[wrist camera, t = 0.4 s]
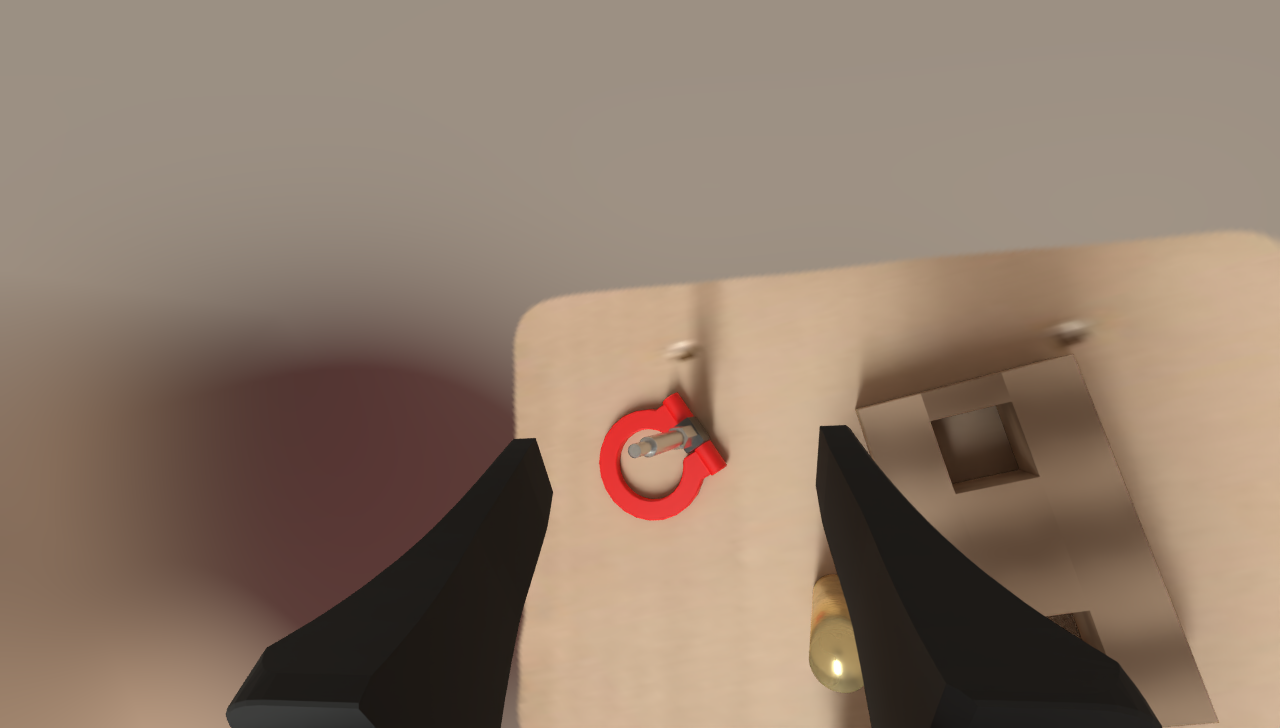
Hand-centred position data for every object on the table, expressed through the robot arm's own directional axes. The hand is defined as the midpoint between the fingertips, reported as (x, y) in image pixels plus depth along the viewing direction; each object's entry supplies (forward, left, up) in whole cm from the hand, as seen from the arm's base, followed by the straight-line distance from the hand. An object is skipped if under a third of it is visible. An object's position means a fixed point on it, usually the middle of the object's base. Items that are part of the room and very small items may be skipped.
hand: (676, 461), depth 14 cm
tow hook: (-1, +9, -28) cm, 29 cm away
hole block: (-11, -12, -27) cm, 32 cm away
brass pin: (-13, -1, -27) cm, 30 cm away
